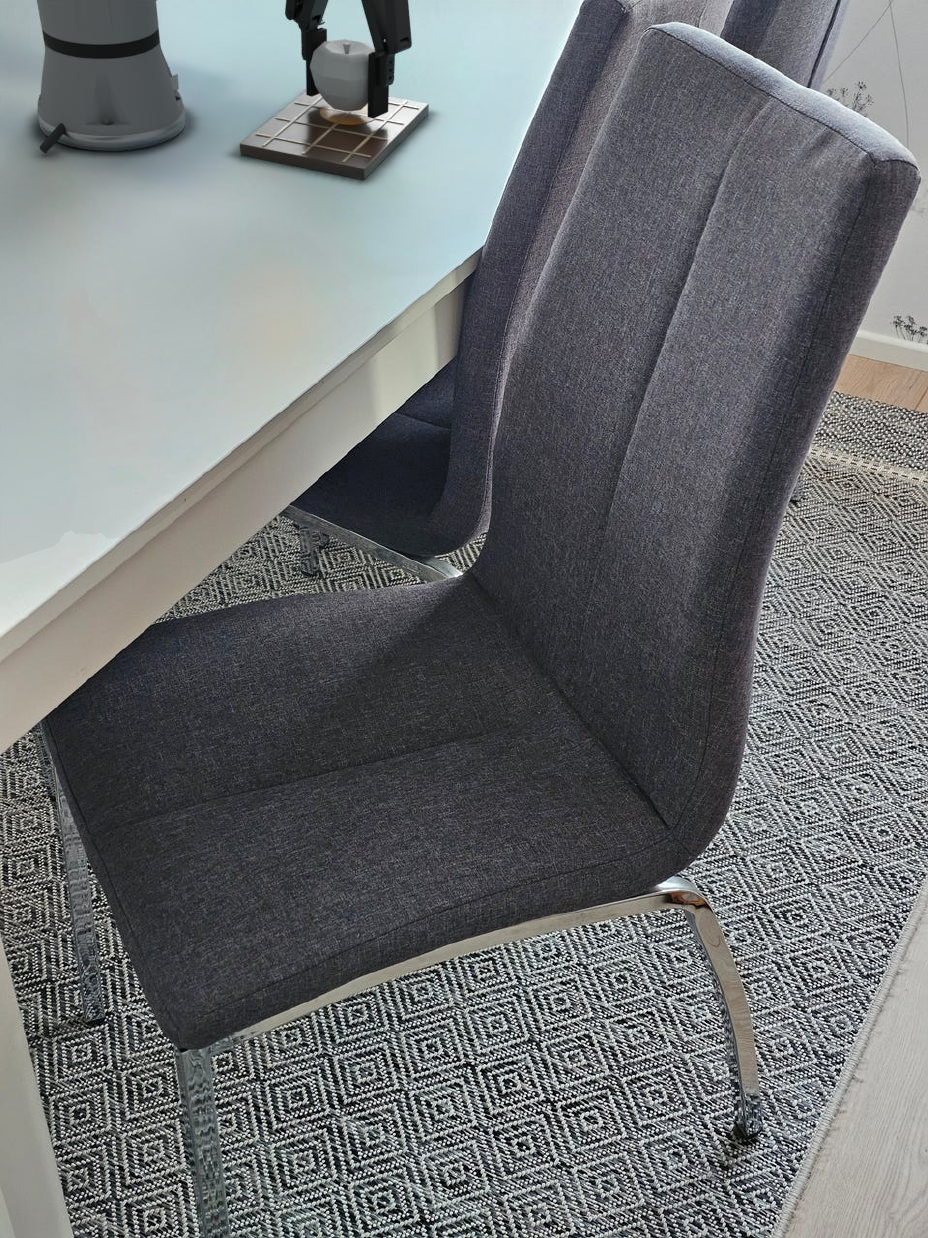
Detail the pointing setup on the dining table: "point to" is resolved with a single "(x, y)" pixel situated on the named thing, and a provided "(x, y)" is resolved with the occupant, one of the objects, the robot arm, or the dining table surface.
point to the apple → (342, 73)
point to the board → (333, 135)
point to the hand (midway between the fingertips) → (347, 102)
